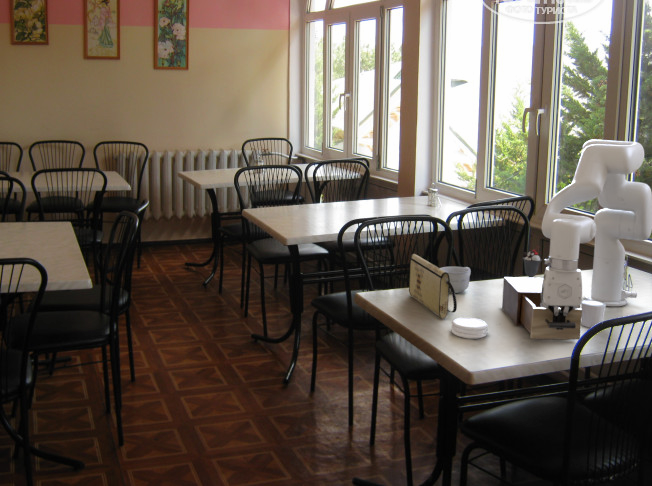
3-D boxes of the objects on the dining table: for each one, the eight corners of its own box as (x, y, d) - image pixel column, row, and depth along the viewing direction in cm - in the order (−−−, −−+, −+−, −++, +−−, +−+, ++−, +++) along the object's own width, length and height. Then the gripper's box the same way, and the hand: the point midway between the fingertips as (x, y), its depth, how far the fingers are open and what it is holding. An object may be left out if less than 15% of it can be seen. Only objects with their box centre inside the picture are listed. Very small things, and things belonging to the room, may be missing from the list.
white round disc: (493, 337, 211) (494, 326, 210) (462, 340, 208) (463, 328, 207) (475, 326, 220) (475, 315, 219) (445, 329, 217) (445, 318, 217)
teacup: (451, 296, 252) (452, 273, 251) (431, 288, 262) (432, 266, 260) (482, 291, 259) (483, 269, 257) (461, 284, 268) (462, 263, 267)
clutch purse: (462, 319, 227) (464, 272, 224) (441, 321, 225) (443, 273, 223) (424, 293, 255) (426, 251, 253) (405, 294, 254) (407, 252, 251)
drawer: (586, 345, 202) (588, 315, 201) (536, 344, 203) (538, 313, 201) (560, 321, 223) (562, 293, 222) (516, 320, 224) (517, 292, 222)
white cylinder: (599, 321, 226) (601, 299, 225) (606, 329, 220) (608, 306, 218) (576, 320, 227) (578, 299, 226) (583, 328, 220) (585, 305, 219)
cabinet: (565, 327, 221) (568, 293, 219) (516, 326, 221) (518, 291, 220) (547, 309, 238) (549, 278, 236) (501, 308, 239) (503, 277, 237)
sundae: (542, 288, 264) (545, 247, 261) (523, 288, 264) (526, 247, 261) (536, 283, 270) (539, 243, 268) (518, 283, 270) (520, 243, 268)
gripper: (539, 266, 199) (535, 331, 202) (595, 267, 198) (590, 333, 201) (531, 260, 206) (527, 323, 209) (586, 261, 205) (580, 324, 208)
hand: (558, 328), depth 205 cm, fingers closed
